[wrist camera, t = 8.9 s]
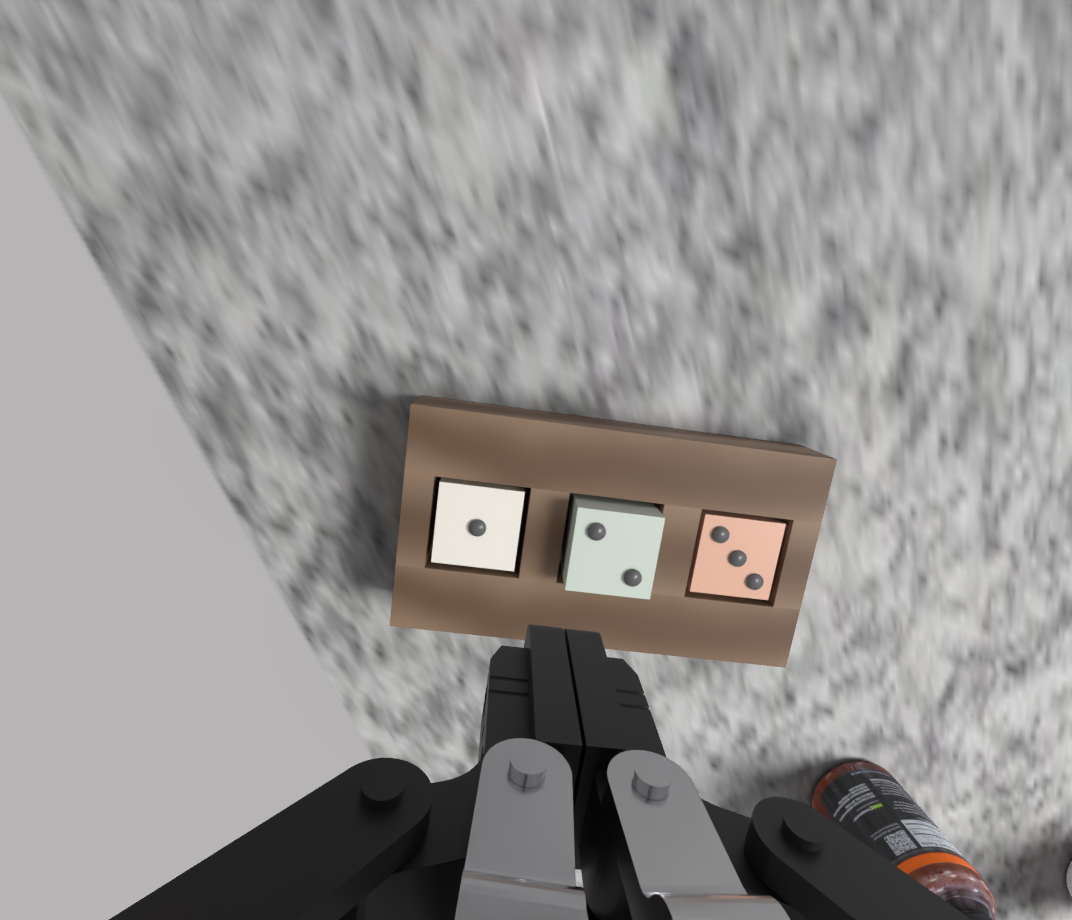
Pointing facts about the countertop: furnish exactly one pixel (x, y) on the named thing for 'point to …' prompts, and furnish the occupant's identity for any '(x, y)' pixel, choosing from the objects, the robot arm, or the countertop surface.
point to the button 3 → (735, 554)
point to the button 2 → (611, 546)
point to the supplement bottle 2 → (1069, 878)
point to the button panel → (616, 472)
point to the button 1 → (477, 524)
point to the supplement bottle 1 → (901, 834)
